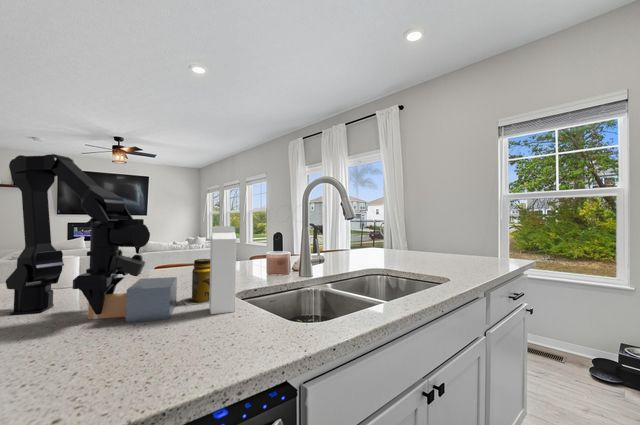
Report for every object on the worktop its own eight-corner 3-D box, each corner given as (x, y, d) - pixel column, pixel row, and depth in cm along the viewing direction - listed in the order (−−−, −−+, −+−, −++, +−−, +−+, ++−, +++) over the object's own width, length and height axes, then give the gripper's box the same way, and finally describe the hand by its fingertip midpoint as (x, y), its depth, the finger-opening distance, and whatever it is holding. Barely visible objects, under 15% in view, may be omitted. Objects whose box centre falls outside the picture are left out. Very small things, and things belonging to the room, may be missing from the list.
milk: (235, 312, 78) (237, 226, 79) (210, 314, 76) (212, 226, 76) (232, 305, 84) (233, 226, 84) (208, 308, 81) (210, 225, 82)
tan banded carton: (87, 319, 71) (88, 297, 71) (92, 315, 74) (93, 294, 74) (154, 314, 76) (155, 293, 76) (156, 310, 79) (157, 290, 79)
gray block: (122, 323, 69) (123, 289, 69) (137, 306, 82) (138, 278, 82) (169, 319, 72) (170, 287, 72) (176, 303, 85) (176, 277, 86)
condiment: (217, 301, 88) (218, 260, 89) (186, 305, 84) (187, 262, 84) (211, 296, 94) (212, 257, 95) (181, 300, 90) (182, 259, 90)
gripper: (132, 249, 68) (130, 319, 67) (149, 243, 86) (148, 299, 85) (72, 250, 64) (70, 324, 64) (103, 243, 82) (101, 302, 81)
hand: (102, 310), depth 74 cm, fingers open, 5 cm apart
